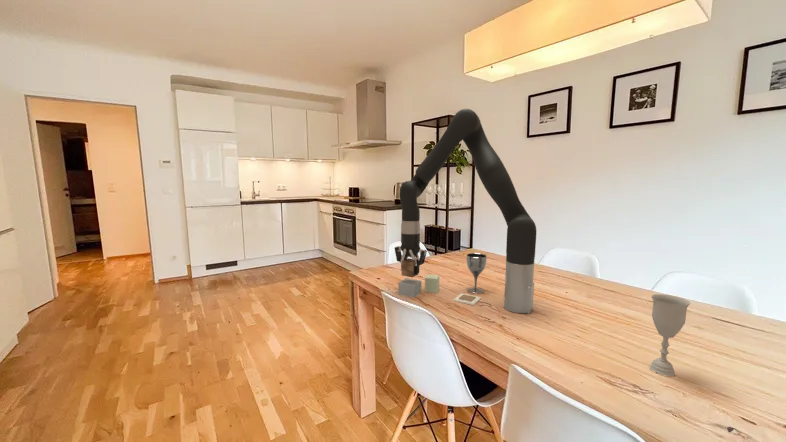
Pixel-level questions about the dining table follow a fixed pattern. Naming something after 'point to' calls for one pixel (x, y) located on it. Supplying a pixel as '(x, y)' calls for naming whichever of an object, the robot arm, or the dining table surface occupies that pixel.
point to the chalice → (667, 326)
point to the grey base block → (409, 287)
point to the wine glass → (476, 268)
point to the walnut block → (408, 268)
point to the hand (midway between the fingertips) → (410, 273)
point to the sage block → (432, 283)
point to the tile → (467, 299)
